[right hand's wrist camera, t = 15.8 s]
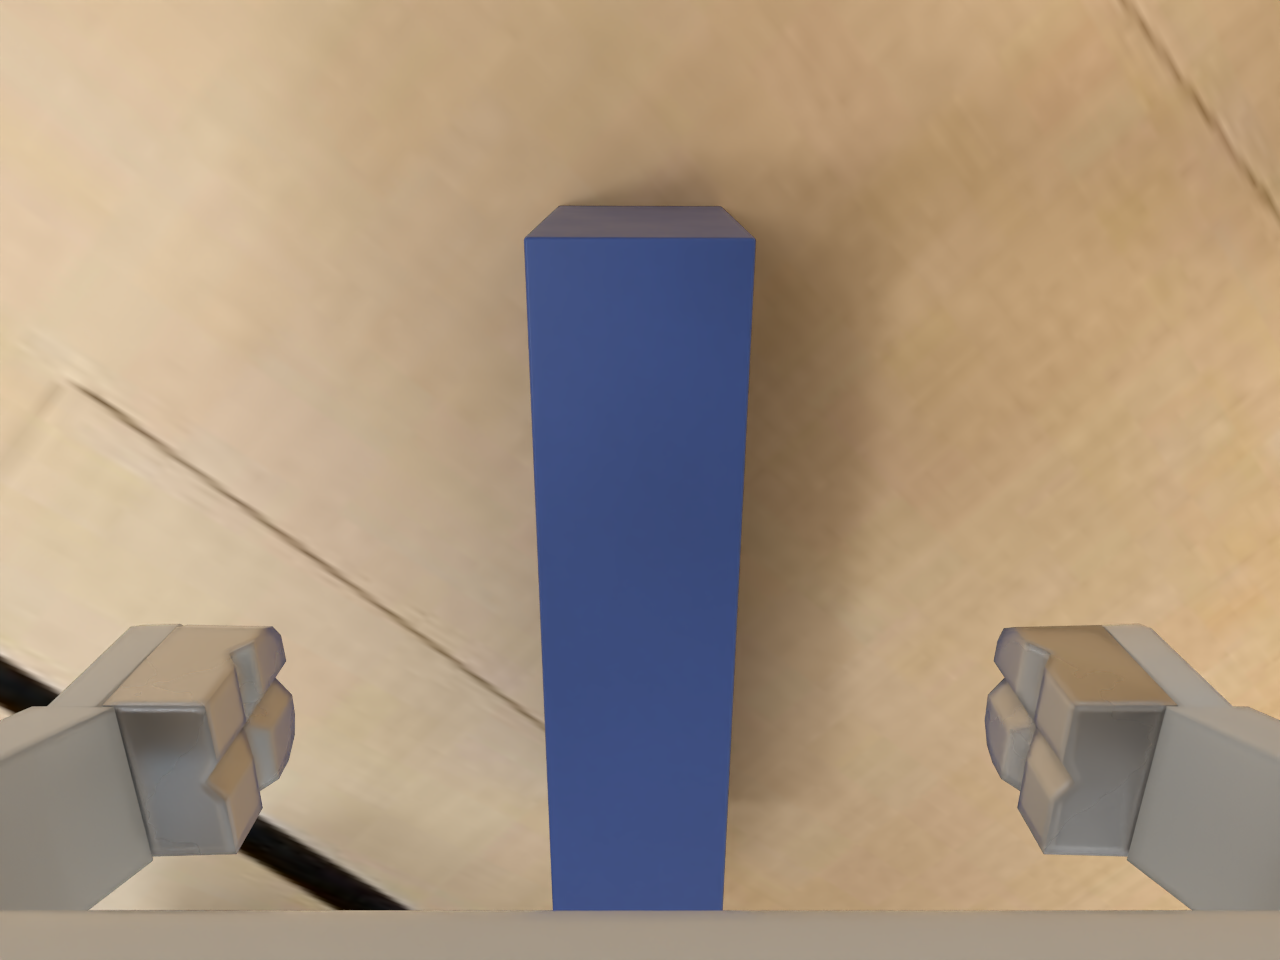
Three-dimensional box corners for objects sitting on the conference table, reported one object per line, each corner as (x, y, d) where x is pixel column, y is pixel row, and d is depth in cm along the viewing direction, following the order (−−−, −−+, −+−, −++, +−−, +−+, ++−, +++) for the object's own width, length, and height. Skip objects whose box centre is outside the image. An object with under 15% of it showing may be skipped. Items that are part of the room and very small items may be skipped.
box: (557, 205, 32) (523, 236, 23) (722, 206, 32) (756, 237, 23) (575, 801, 42) (556, 995, 33) (700, 801, 42) (718, 996, 33)
